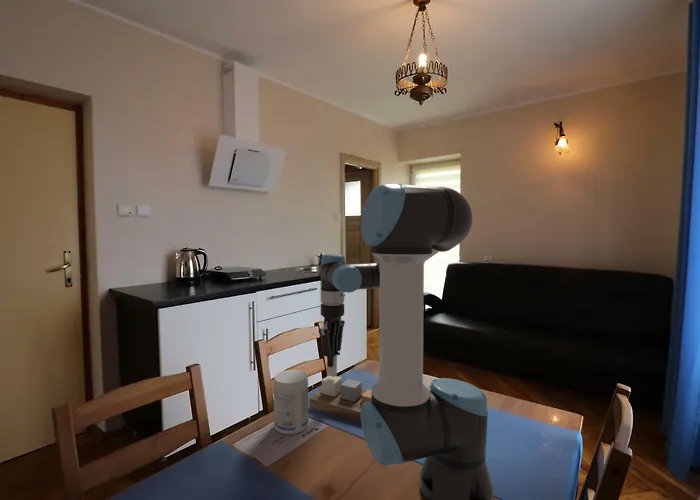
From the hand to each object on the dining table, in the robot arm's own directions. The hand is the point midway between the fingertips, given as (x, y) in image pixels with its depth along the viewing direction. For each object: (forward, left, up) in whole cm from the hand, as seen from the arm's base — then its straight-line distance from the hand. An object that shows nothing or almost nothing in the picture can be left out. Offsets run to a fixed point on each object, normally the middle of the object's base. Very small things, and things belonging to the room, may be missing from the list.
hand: (331, 375), depth 117 cm
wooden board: (0, -7, -9) cm, 11 cm away
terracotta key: (0, -14, -7) cm, 16 cm away
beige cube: (0, 0, -6) cm, 6 cm away
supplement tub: (-18, +3, -9) cm, 20 cm away
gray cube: (0, -7, -6) cm, 9 cm away
